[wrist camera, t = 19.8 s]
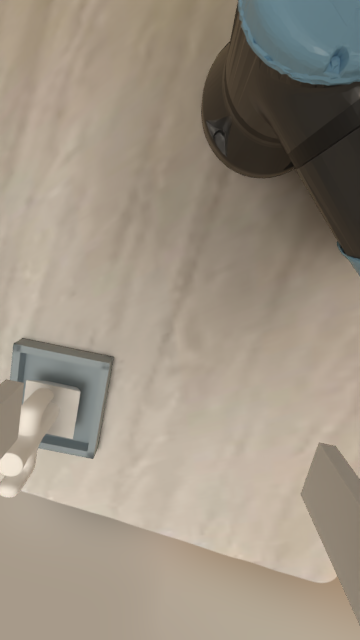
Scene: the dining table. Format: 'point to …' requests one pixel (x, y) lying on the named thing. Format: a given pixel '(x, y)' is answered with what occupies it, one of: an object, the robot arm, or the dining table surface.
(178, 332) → the dining table surface
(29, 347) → the tray
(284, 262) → the dining table surface
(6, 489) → the figurine
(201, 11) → the dining table surface
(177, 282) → the dining table surface
